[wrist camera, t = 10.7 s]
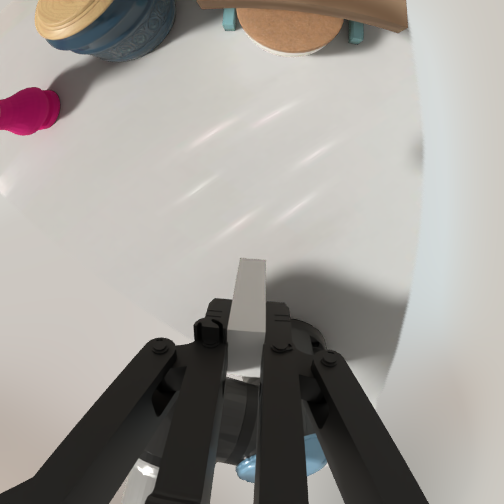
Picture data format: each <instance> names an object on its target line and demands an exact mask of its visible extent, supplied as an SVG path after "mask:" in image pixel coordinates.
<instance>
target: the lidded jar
mask: <svg viewBox="0 0 504 504" xmlns="http://www.w3.org/2000/svg"><path fill="white" fill-rule="evenodd" d="M236 12H237V16H238V19H239V22H240V24H241V26H242V27H243V29H244V31H245V33H246V34H247V36H248V37H249V38H250V39H251V41H252V42H253V43H254V44H256V45H257V46H258V47H259V48H261V49H263V50H264V51H266V52H269V53H271V54H274V55H277V56H282V57H301V56H306V55H309V54H312V53H314V52H316V51H318V50H320V49H322V48H323V47H324V46H325V45H327V44H328V43H329V42H330V41H332V40H333V39H334V38H335V36H336V35H337V34H338V33H339V31H340V29H341V27H342V24H343V21H344V19H342V18H337V17H331V16H326V15H320V14H313V13H306V12H297V11H288V10H276V9H257V8H236Z"/></svg>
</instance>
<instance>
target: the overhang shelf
mask: <svg viewBox="0 0 504 504" xmlns="http://www.w3.org/2000/svg"><path fill="white" fill-rule="evenodd" d="M196 1H197V3H198V4H199V6H200V7H201V9H220V8H224V13H223V24H222V25H223V27H224V29H225V31H235V26H236V14H237V12H236V8H257V9H276V10H288V11H297V12H306V13H313V14H320V15H326V16H331V17H337V18H342V19H347V20H349V41H348V43H353V44H357V45H358V44H359V43H360V42H361V41H363V37H364V24H368V25H372V26H376V27H379V28H383V29H386V30H390V31H393V32H396V33H400V32H401V31H403V30H405V29H406V28H408V21H407V6H406V0H196Z"/></svg>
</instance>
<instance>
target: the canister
mask: <svg viewBox="0 0 504 504" xmlns="http://www.w3.org/2000/svg"><path fill="white" fill-rule="evenodd" d="M175 16H176V5H175V1H174V0H39V1H38V4H37V7H36V12H35V25H36V29H37V31H38V32H39V34H40V35H41V36H43V37H44V38H45V39H46V40H47V42H48V43H49V44H50V45H51V46H52V47H54V48H56V49H59V50H71V51H72V52H75V53H78V54H88V55H92V56H96V57H97V58H99V59H102V60H105V61H110V62H123V61H130V60H134V59H137V58H139V57H142V56H144V55H145V54H147V53H149V52H150V51H152V50H153V49H154V48H156V47H157V46H158V45H159V44H160V43H161V42H162V41H163V40H164V39H165V37H166V36H167V35H168V33H169V32H170V30H171V28H172V26H173V23H174V20H175Z"/></svg>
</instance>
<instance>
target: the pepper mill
mask: <svg viewBox="0 0 504 504" xmlns="http://www.w3.org/2000/svg"><path fill="white" fill-rule="evenodd" d="M59 111H60V100H59V97H58V95H57V94H56V93H55V92H54V91H51V90H43V91H42V90H41V89H40V88H37V87H31V88H26V89H23V90H21V91H19V92H17V93H16V94H14V95H12V96H11V97H9V98H6V99H2V100H0V130H8V131H10V132H12V133H14V134H17V135H31V134H33V133H35V132H36V131H37V130H41V129H47V128H49V127H51V126H52V125H53V124H54V123H55V121H56V119H57V117H58V115H59Z"/></svg>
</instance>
